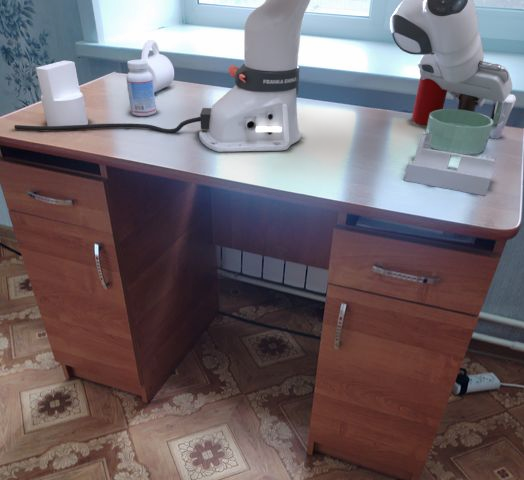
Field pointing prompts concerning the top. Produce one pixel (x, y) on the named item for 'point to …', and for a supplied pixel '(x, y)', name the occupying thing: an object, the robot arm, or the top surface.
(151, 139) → the top surface
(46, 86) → the white stepped block
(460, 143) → the bowl
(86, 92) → the top surface
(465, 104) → the pestle
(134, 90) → the pill bottle
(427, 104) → the beverage can
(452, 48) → the robot arm
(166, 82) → the mug
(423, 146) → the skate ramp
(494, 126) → the milkshake
